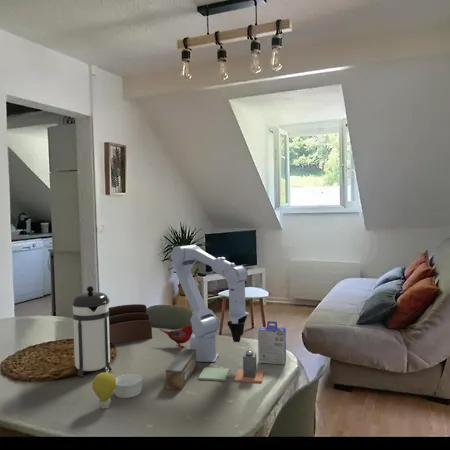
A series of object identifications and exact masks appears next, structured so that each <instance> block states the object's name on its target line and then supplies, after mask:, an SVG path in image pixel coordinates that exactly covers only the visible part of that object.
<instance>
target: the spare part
mask: <svg viewBox="0 0 450 450" xmlns="http://www.w3.org/2000/svg"><path fill="white" fill-rule="evenodd" d="M242 369H243V377H252V378H255V377H256V373H257V370H258V367H257V352H254V351H253V350H252V349H251V350H250V349H249V350H246V351H245V352H244V353H243V355H242Z"/></svg>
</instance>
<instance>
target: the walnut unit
mask: <svg viewBox="0 0 450 450" xmlns="http://www.w3.org/2000/svg"><path fill="white" fill-rule="evenodd" d="M196 368H197V361H196V349H190V348H182V349H181V350H180V351H179V352H178V353H177V355H176V356H175V357H174V359H173V360H172V361H171V363H169V365H168V366H167V367H166V369H165V370H164V372H165V388H166V390H175V391H176V390H177V391H179V390H180V391H182V390H183V388H184V387H185V385H186V383H187V382H188V380H189V378H190V377H191V375H192V374H193V372H194V371H195V369H196Z"/></svg>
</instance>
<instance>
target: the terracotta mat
mask: <svg viewBox="0 0 450 450" xmlns="http://www.w3.org/2000/svg"><path fill="white" fill-rule="evenodd" d="M264 373H265V370H262V369H261V370H260V369H257V373H256V377H255V378H252V377H243V368H242V369H240V368H239V369H237V371H236V374H235V377H234V379H233V380H234V381H233V382H237V383H238V382H239V383H254V384H257V383H258V384H261V383H263V377H264Z"/></svg>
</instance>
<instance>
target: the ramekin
mask: <svg viewBox="0 0 450 450" xmlns="http://www.w3.org/2000/svg"><path fill="white" fill-rule="evenodd" d="M115 379H116V387H115V389H114V394H115V396H116V397H118V398H120V399H121V398H122V399H130V397H131V398H133V397H137V396H139V395H140V394H141V392H142V386H143V385H142V384H143V376H142V375H140V374H135V373H128V374H123V375H119V376H117V377H115Z"/></svg>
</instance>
